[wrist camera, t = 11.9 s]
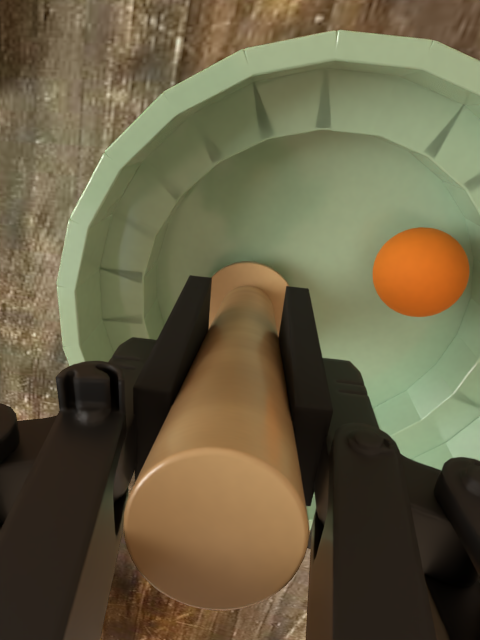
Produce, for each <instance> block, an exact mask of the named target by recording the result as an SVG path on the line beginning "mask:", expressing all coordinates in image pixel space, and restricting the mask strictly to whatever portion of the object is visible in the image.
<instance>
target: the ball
mask: <svg viewBox="0 0 480 640" xmlns="http://www.w3.org/2000/svg"><path fill="white" fill-rule="evenodd" d="M468 279H469V262H468V258H467V255H466V253H465V251H464V249H463V247H462V246H461V245H460V244H459V242H458V241H457V240H456V239H454V238H453V237H452V236H451V235H449V234H447V233H445V232H443V231H441V230H438V229H434V228H424V227H419V228H412V229H408V230H405V231H403V232H400V233H398V234H397V235H395V236H393V237H392V238H391V239H389V240H388V241H387V242H386V243H385V244H384V245H383V247H382V248H381V249H380V251H379V252H378V254H377V256H376V259H375V262H374V266H373V283H374V287H375V289H376V292H377V294H378V295H379V297H380V298H381V300H382V301H383V302H384V303H385V304H386V305H387V306H388V307H389V308H391V309H392V310H394V311H396V312H398V313H400V314H403V315H406V316H411V317H427V316H432V315H435V314H438V313H441V312H442V311H444V310H446V309H448V308H449V307H450V306H452V305H453V304H454V303H455V302H456V301H457V300H458V299H459V298H460V297H461V295H462V294H463V292H464V290H465V288H466V286H467V283H468Z"/></svg>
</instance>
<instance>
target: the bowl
mask: <svg viewBox="0 0 480 640" xmlns="http://www.w3.org/2000/svg"><path fill="white" fill-rule="evenodd" d="M419 227H424V228H434V229H438V230H441V231H443V232H445V233H447V234H449V235H451V236H452V237H453V238H454V239H456V240H457V241H458V242H459V244H460V245H461V246H462V247H463V249H464V251H465V253H466V255H467V258H468V262H469V279H468V283H467V286H466V288H465V290H464V292H463V294H462V295H461V297H460V298H459V299H458V300H457V301H456V302H455V303H454V304H453V305H452V306H450V307H449V308H448V309H446V310H444V311H442V312H441V313H438V314H435V315H432V316H427V317H411V316H406V315H403V314H400V313H398V312H396V311H394V310H392V309H391V308H389V307H388V306H387V305H386V304H385V303H384V302H383V301H382V300H381V298H380V297H379V295H378V294H377V292H376V289H375V287H374V283H373V266H374V262H375V259H376V256H377V254H378V252H379V251H380V249H381V248H382V247H383V245H384V244H385V243H386V242H387V241H388V240H389V239H391V238H392V237H393V236H395V235H397V234H398V233H400V232H403V231H405V230H408V229H412V228H419ZM241 261H253V262H259V263H262V264H265V265H268V266H269V267H271V268H273V269H275V270H276V271H277V272H279V273H280V274H281V275H282V276H283V277H284V279H285V280H286V281H287V283H288V284H289V286H291V287H299V288H308V289H309V293H310V298H311V303H312V308H313V313H314V318H315V323H316V328H317V333H318V338H319V343H320V348H321V353H322V358H330V359H339V360H347V361H350V362H351V363H352V364H353V365H354V366H355V367H356V368H357V369H358V370H359V371H360V372H361V375H362V378H363V381H364V386H365V387H366V390H367V393H368V394H367V396H369V399H370V402H371V405H372V408H373V411H374V414H375V417H376V420H377V423H378V426H379V429H380V430H382V431H384V432H385V433H387V434H388V435H389V436H390V437H391V438H392V439H393V440H394V441H395V442H396V444H397V446H398V448H399V450H400V454H402V455H403V456H405V457H407V458H409V459H412V460H414V461H416V462H419V463H422V464H425V465H428V466H430V467H433V468H436V469H439V470H441V469H442V467H443V465H444V463H445V462H446V461H448V460H449V459H450V458H456V457H466V458H472V459H476V460H479V461H480V61H479V60H477V59H475V58H473V57H471V56H468V55H466V54H464V53H462V52H460V51H458V50H455V49H453V48H451V47H449V46H447V45H445V44H442V43H440V42H438V41H436V40H433V41H432V40H431V39H424V38H414V37H405V36H396V35H386V34H377V33H367V32H358V31H349V30H338V31H336V30H332V31H327V32H322V33H317V34H312V35H307V36H302V37H297V38H293V39H288V40H283V41H278V42H273V43H268V44H263V45H258V46H253V47H248V48H246V49H244V50H243V49H241V50H239V51H237V52H236V53H234V54H232V55H230V56H228V57H226V58H224V59H223V60H221V61H219V62H217V63H215V64H213V65H212V66H210V67H208V68H206V69H204V70H202V71H201V72H199V73H197V74H195V75H193V76H191V77H189V78H188V79H186V80H184V81H182V82H180V83H178V84H177V85H175V86H173V87H171V88H169V89H167V90H166V91H164V92H163V93H161V94H160V95H159V96H158V98H157V99H156V100H155V101H154V102H153V103H152V104H151V105H150V106H149V107H148V108H147V109H146V110H145V111H144V112H143V113H142V114H141V115H140V116H139V117H138V118H137V119H136V120H135V121H134V122H133V123H132V124H131V125H130V126H129V127H128V128H127V129H126V130H125V131H124V132H123V133H122V134H121V135H120V136H119V137H118V138H117V139H116V140H115V141H114V142H113V143H112V144H111V145H110V146H109V147H108V148H107V149H106V150H105V153H103V155H102V157H101V159H100V161H99V163H98V164H97V166H96V168H95V170H94V172H93V174H92V176H91V178H90V180H89V182H88V183H87V185H86V187H85V189H84V191H83V193H82V195H81V197H80V199H79V201H78V202H77V204H76V206H75V208H74V210H73V212H72V214H71V216H70V219H69V221H68V226H67V231H66V237H65V242H64V247H63V252H62V258H61V263H60V268H59V273H58V278H57V294H58V304H59V314H60V324H61V334H62V344H63V350H64V352H65V355H66V358H67V360H68V363H69V365H70V366H71V365H73V364H77V363H81V362H85V361H104V362H109V360H110V359H111V358H112V355H113V354H114V352H115V351H116V349H117V348H118V346H119V345H120V344H122V343H124V342H125V341H127V340H128V339H130V338H132V337H137V338H145V339H154V340H157V339H158V337H159V335H160V333H161V331H162V329H163V327H164V325H165V323H166V321H167V319H168V317H169V315H170V313H171V311H172V309H173V307H174V305H175V303H176V301H177V299H178V297H179V295H180V294H181V292H182V290H183V288H184V286H185V284H186V282H187V280H188V278H189V276H190V275H192V276H201V277H210V278H211V277H212V276H213V275H214V274H215V273H216V272H217V271H219V270H220V269H222V268H223V267H225V266H227V265H229V264H232V263H236V262H241ZM306 508H307V514H308V521H309V530H311V527H312V523H313V519H314V514H315V510H316V501H315V492H314V494H313V499H312V503H311V506H306Z"/></svg>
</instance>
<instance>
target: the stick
mask: <svg viewBox="0 0 480 640" xmlns="http://www.w3.org/2000/svg"><path fill="white" fill-rule="evenodd" d="M211 278H212V283H211V298H210V313H209V328H208V332H207V334H206V336H205V338H204V340H203V342H202V344H201V347H200V349H199V351H198V353H197V355H196V357H195V359H194V361H193V363H192V365H191V367H190V369H189V372H188V374H187V376H186V378H185V380H184V382H183V384H182V386H181V388H180V390H179V392H178V394H177V396H176V399H175V401H174V403H173V405H172V407H171V409H170V411H169V413H168V415H167V417H166V419H165V421H164V424H163V426H162V428H161V430H160V432H159V434H158V436H157V438H156V440H155V442H154V444H153V446H152V448H151V451H150V453H149V455H148V457H147V459H146V461H145V463H144V465H143V467H142V469H141V471H140V473H139V476H138V478H137V480H136V482H135V484H134V486H133V488H132V490H131V492H130V494H129V497H128V500H127V502H126V506H125V511H124V520H123V527H124V537H125V542H126V546H127V549H128V552H129V554H130V557H131V559H132V561H133V562H134V564H135V566H136V568H137V569H138V570H139V572H140V573H141V574H142V576H143V577H144V578H145V579H146V580H147V581H148V582H149V583H150V584H151V585H152V586H154V587H155V588H156V589H157V590H158V591H160V592H161V593H163V594H165V595H166V596H168V597H169V598H171V599H174V600H176V601H178V602H180V603H183V604H185V605H188V606H192V607H196V608H200V609H207V610H235V609H240V608H245V607H249V606H252V605H255V604H258V603H260V602H262V601H264V600H266V599H268V598H270V597H271V596H273V595H274V594H276V593H277V592H279V591H280V590H281V589H282V588H283V587H285V586H286V585H287V584H288V582H289V581H290V580H291V579H292V578H293V577H294V575H295V574H296V572H297V571H298V569H299V567H300V565H301V563H302V561H303V559H304V557H305V553H306V550H307V547H308V541H309V521H308V514H307V508H306V502H305V496H304V490H303V484H302V478H301V472H300V466H299V460H298V454H297V448H296V442H295V436H294V430H293V424H292V417H291V411H290V405H289V399H288V393H287V387H286V381H285V375H284V369H283V363H282V357H281V351H280V345H279V339H278V338H279V331H280V324H281V318H282V311H283V305H284V298H285V291H286V286H289V284H288V283H287V281H286V280H285V279H284V277H283V276H282V275H281V274H280V273H279V272H277V271H276V270H275V269H273V268H271V267H269V266H268V265H265V264H262V263H259V262H253V261H241V262H236V263H232V264H229V265H227V266H225V267H223V268H222V269H220V270H219V271H217V272H216V273H215V274H214V275H213V276H212V277H211Z"/></svg>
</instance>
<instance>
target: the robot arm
mask: <svg viewBox="0 0 480 640" xmlns="http://www.w3.org/2000/svg"><path fill="white" fill-rule="evenodd" d="M211 283H212V278H210V277H201V276H192V275H190V276H189V278H188V280H187V282H186V284H185V286H184V288H183V290H182V292H181V294H180V295H179V297H178V299H177V301H176V303H175V305H174V307H173V309H172V311H171V313H170V315H169V317H168V319H167V321H166V323H165V325H164V327H163V329H162V331H161V333H160V335H159V337H158V339H157V340H154V339H145V338H137V337H132V338H130V339H128V340H127V341H125V342H124V343H122V344H120V345H119V346H118V348H117V349H116V351H115V352H114V354H113V355H112V358H111V359H110V360H109V362H104V361H85V362H81V363H77V364H73V365H71V366H69V367H67V368H65V369H64V370H62V371H61V372H60V373H59V374H58V375H57V376H56V383H57V391H58V399H59V408H60V411H59V413H58V415H57V416H54V417H49V418H43V419H33V420H23V421H17V418H16V413H15V412H14V411H13V409H12V408H11V407H9V406H6V405H4V404H1V403H0V640H100V638H101V633H102V628H103V623H104V618H105V614H106V609H107V604H108V599H109V594H110V590H111V585H112V580H113V575H114V571H115V566H116V561H117V556H118V551H119V547H120V542H121V537H122V532H123V520H124V511H125V506H126V502H127V500H128V497H129V495H128V486H129V483H130V481H131V478H132V475H133V473H134V470H135V482H136V480H137V478H138V476H139V473H140V471H141V469H142V467H143V465H144V463H145V461H146V459H147V457H148V455H149V453H150V451H151V448H152V446H153V444H154V442H155V440H156V438H157V436H158V434H159V432H160V430H161V428H162V426H163V424H164V421H165V419H166V417H167V415H168V413H169V411H170V409H171V407H172V405H173V403H174V401H175V399H176V396H177V394H178V392H179V390H180V388H181V386H182V384H183V382H184V380H185V378H186V376H187V374H188V372H189V369H190V367H191V365H192V363H193V361H194V359H195V357H196V355H197V353H198V351H199V349H200V347H201V344H202V342H203V340H204V338H205V336H206V334H207V332H208V328H209V313H210V298H211ZM278 339H279V345H280V351H281V357H282V363H283V369H284V375H285V381H286V387H287V393H288V399H289V405H290V411H291V417H292V424H293V430H294V436H295V442H296V448H297V454H298V460H299V466H300V472H301V478H302V484H303V490H304V496H305V502H306V506H311V503H312V499H313V494H314V492H315V501H316V510H315V514H314V519H313V523H312V527H311V531H310V535H309V541H308V547H307V548H309V549H311V552H310V571H309V589H308V607H307V626H306V640H480V461H479V460H476V459H472V458H466V457H456V458H450V459H449V460H448V461H446V462H445V463H444V465H443V467H442V469H441V470H439V469H436V468H433V467H430V466H428V465H425V464H422V463H419V462H416V461H414V460H412V459H409V458H407V457H405V456H403V455H402V454H400V450H399V448H398V446H397V444H396V442H395V441H394V440H393V439H392V438H391V437H390V436H389V435H388V434H387V433H385V432H384V431H382V430H380V429H379V426H378V423H377V420H376V417H375V414H374V411H373V408H372V405H371V402H370V399H369V396H367V394H368V393H367V390H366V387H365V386H364V381H363V378H362V375H361V372H360V371H359V370H358V369H357V368H356V367H355V366H354V365H353V364H352V363H351V362H350V361H347V360H339V359H330V358H322V353H321V348H320V343H319V338H318V333H317V328H316V323H315V318H314V313H313V308H312V303H311V298H310V293H309V289H308V288H299V287H291V286H286V291H285V298H284V305H283V311H282V318H281V324H280V331H279V338H278Z"/></svg>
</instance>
